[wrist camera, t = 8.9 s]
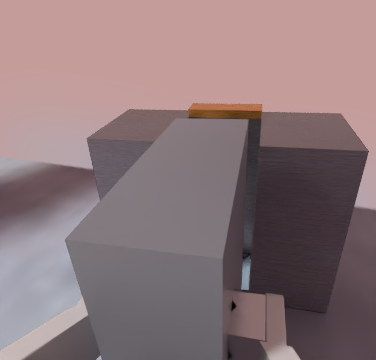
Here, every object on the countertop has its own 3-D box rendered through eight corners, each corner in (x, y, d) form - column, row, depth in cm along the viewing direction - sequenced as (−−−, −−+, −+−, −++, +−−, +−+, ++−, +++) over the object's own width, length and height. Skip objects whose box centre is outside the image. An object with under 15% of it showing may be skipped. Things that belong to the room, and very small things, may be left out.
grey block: (135, 467, 10) (64, 239, 6) (188, 288, 17) (175, 118, 12) (222, 493, 10) (222, 258, 5) (241, 295, 16) (248, 119, 12)
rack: (117, 280, 22) (84, 129, 16) (146, 229, 27) (128, 102, 21) (325, 313, 19) (371, 140, 13) (313, 249, 24) (342, 105, 18)
